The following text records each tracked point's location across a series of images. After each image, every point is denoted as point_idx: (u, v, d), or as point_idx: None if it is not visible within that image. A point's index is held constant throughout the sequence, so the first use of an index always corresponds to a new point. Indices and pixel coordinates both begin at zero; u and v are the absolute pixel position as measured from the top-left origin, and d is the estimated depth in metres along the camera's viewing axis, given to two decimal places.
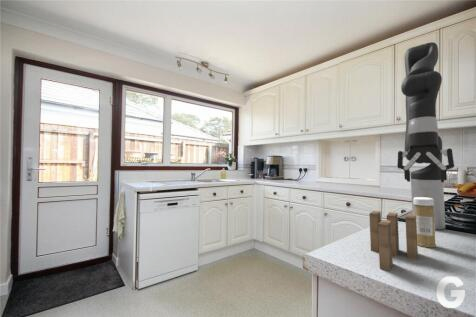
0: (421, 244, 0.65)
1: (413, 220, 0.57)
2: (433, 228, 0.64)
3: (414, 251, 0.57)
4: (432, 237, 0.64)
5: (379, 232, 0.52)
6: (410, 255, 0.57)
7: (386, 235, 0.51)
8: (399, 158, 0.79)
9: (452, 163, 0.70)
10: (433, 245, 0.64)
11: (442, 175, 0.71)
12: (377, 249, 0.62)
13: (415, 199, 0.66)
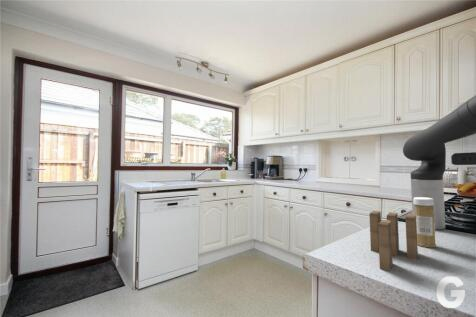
0: (421, 244, 0.65)
1: (413, 220, 0.57)
2: (433, 228, 0.64)
3: (414, 251, 0.57)
4: (432, 237, 0.64)
5: (379, 232, 0.52)
6: (410, 255, 0.57)
7: (386, 235, 0.51)
8: None
9: None
10: (433, 245, 0.64)
11: None
12: (377, 249, 0.62)
13: (415, 199, 0.66)
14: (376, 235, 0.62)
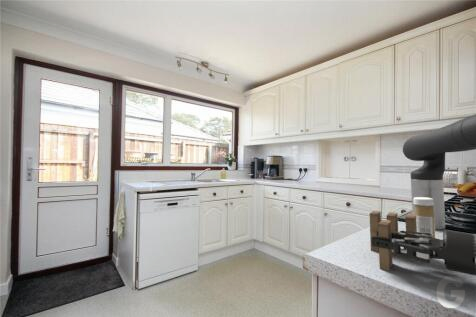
0: None
1: (413, 220, 0.57)
2: (433, 228, 0.64)
3: None
4: (432, 237, 0.64)
5: (379, 232, 0.52)
6: None
7: (386, 235, 0.51)
8: None
9: None
10: None
11: None
12: (377, 249, 0.62)
13: (415, 199, 0.66)
14: (376, 235, 0.62)
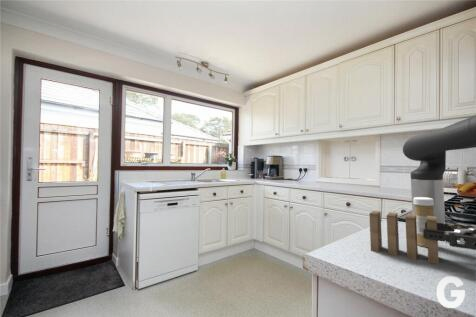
0: (421, 244, 0.65)
1: (413, 220, 0.57)
2: None
3: (414, 251, 0.57)
4: None
5: (428, 227, 0.55)
6: (410, 255, 0.57)
7: None
8: None
9: None
10: None
11: None
12: (377, 249, 0.62)
13: (415, 199, 0.66)
14: (376, 235, 0.62)
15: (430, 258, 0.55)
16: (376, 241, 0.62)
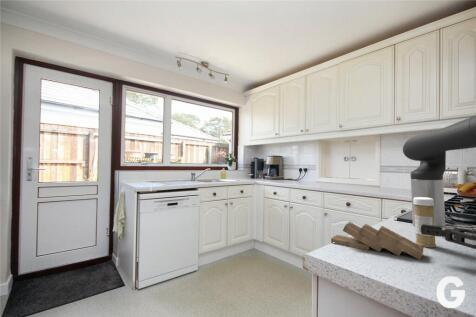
0: (421, 244, 0.65)
1: (363, 229, 0.64)
2: None
3: (393, 246, 0.59)
4: (432, 237, 0.64)
5: (383, 238, 0.61)
6: (396, 252, 0.59)
7: (387, 235, 0.60)
8: None
9: None
10: (433, 245, 0.64)
11: None
12: (366, 245, 0.63)
13: (415, 199, 0.66)
14: (351, 243, 0.66)
15: (415, 256, 0.56)
16: (357, 244, 0.65)
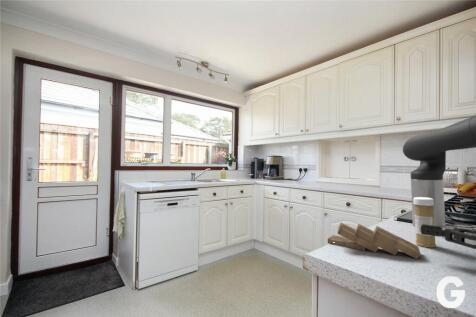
0: (421, 244, 0.65)
1: (359, 230, 0.63)
2: None
3: (390, 246, 0.59)
4: (432, 237, 0.64)
5: (381, 239, 0.60)
6: (393, 251, 0.59)
7: (385, 236, 0.60)
8: None
9: None
10: (433, 245, 0.64)
11: None
12: None
13: (415, 199, 0.66)
14: (348, 243, 0.66)
15: (413, 255, 0.57)
16: (354, 245, 0.65)
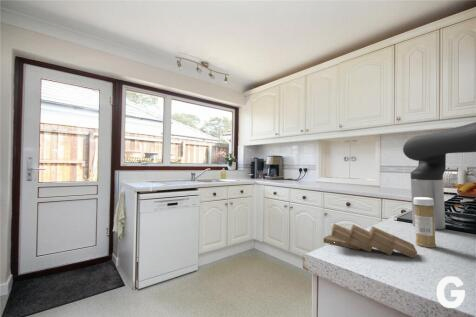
0: (421, 244, 0.65)
1: (354, 232, 0.62)
2: (433, 228, 0.64)
3: (384, 246, 0.59)
4: (432, 237, 0.64)
5: (378, 241, 0.60)
6: (388, 251, 0.59)
7: (382, 237, 0.59)
8: None
9: None
10: (433, 245, 0.64)
11: None
12: None
13: (415, 199, 0.66)
14: (343, 243, 0.66)
15: (410, 255, 0.57)
16: (349, 244, 0.65)
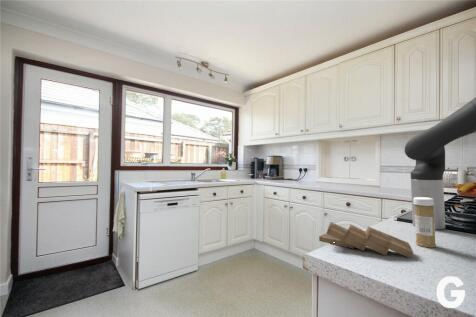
0: (421, 244, 0.65)
1: (349, 231, 0.63)
2: (433, 228, 0.64)
3: (379, 246, 0.59)
4: (432, 237, 0.64)
5: (375, 242, 0.60)
6: (383, 252, 0.59)
7: (378, 238, 0.60)
8: None
9: None
10: (433, 245, 0.64)
11: None
12: None
13: (415, 199, 0.66)
14: (337, 241, 0.67)
15: (406, 255, 0.57)
16: (343, 242, 0.66)
